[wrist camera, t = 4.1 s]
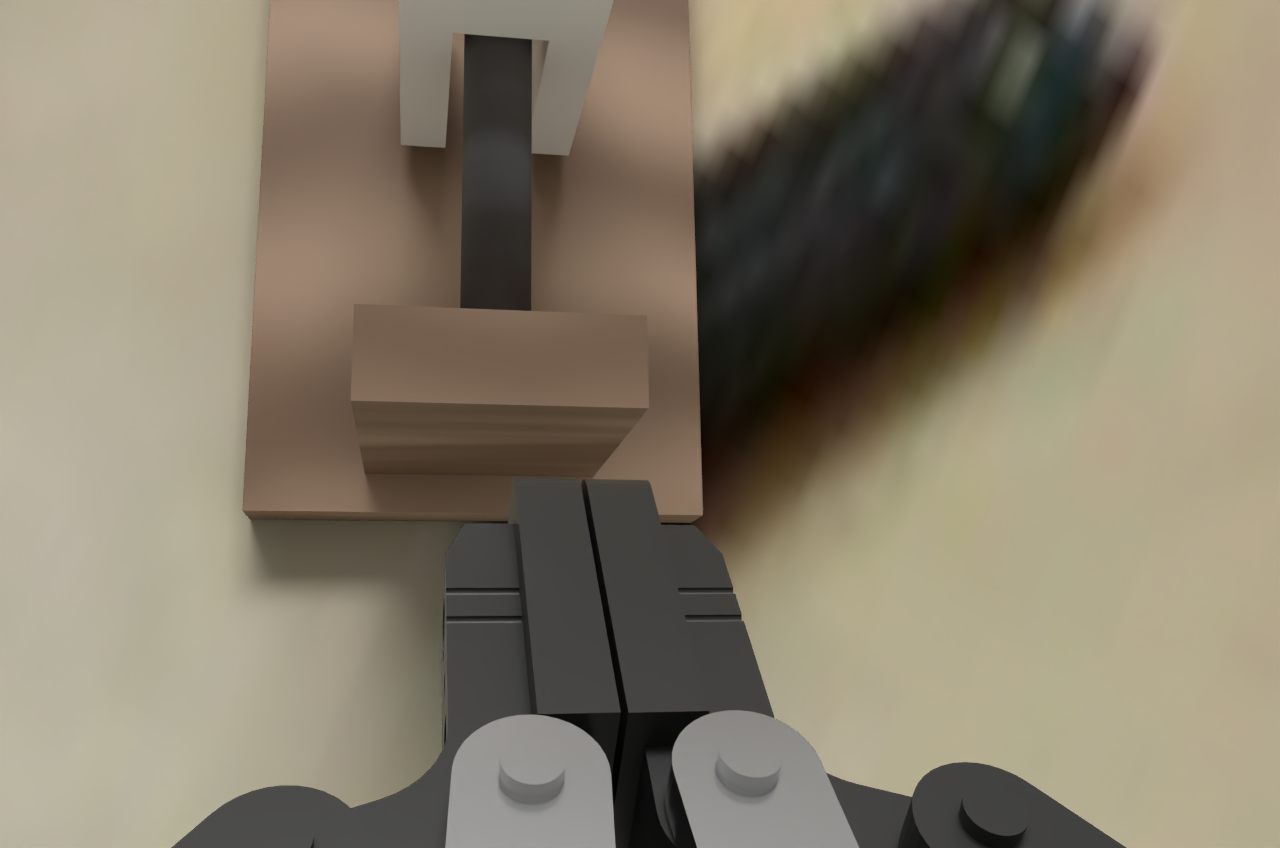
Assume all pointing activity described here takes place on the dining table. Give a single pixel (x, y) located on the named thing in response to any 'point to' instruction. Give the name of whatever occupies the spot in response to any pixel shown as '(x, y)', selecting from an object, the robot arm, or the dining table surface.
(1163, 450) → the dining table surface
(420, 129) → the white slider block
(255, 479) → the cord stand
